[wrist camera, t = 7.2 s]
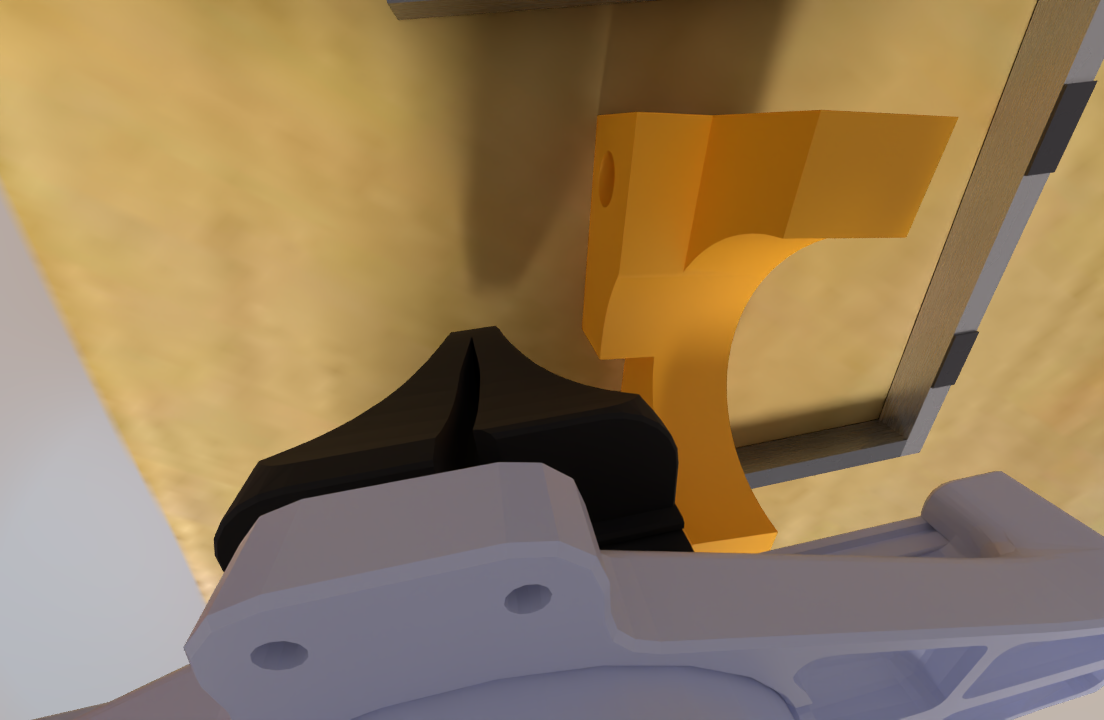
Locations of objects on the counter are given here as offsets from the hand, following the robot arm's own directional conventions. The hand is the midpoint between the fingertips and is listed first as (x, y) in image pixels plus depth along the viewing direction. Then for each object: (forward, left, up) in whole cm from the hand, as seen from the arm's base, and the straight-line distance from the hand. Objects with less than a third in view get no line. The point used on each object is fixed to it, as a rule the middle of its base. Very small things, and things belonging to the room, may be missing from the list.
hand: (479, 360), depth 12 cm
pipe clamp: (0, -6, -3) cm, 6 cm away
